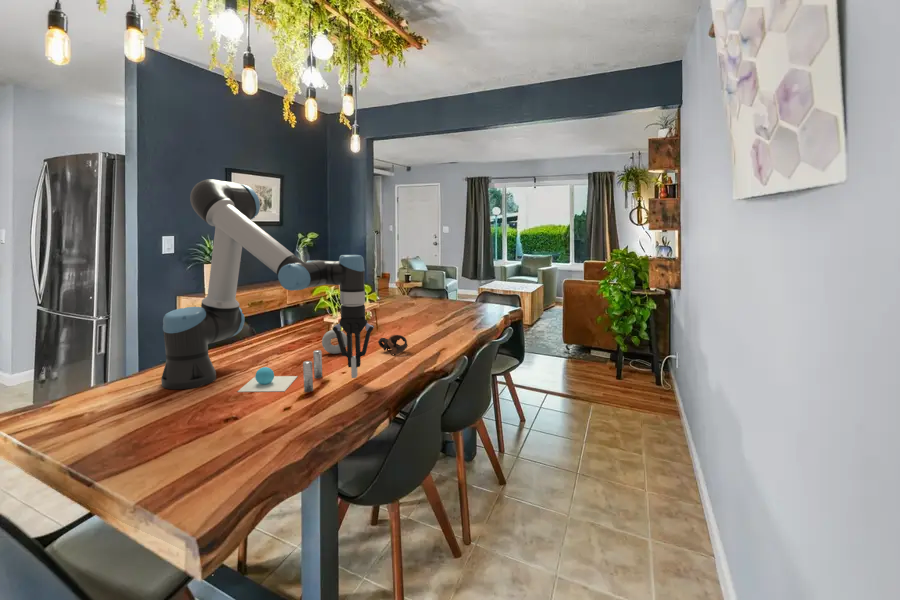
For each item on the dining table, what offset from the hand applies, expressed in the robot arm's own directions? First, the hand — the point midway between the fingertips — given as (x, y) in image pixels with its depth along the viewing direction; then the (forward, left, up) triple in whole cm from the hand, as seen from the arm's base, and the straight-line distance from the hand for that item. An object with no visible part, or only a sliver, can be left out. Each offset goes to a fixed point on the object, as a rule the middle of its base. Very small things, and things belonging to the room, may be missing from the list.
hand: (354, 376), depth 141 cm
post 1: (-13, -6, -2) cm, 15 cm away
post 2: (-13, +6, -2) cm, 15 cm away
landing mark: (-27, 0, -2) cm, 27 cm away
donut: (-13, +35, -2) cm, 37 cm away
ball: (-28, 0, 0) cm, 28 cm away
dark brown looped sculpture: (+10, +37, -3) cm, 38 cm away
